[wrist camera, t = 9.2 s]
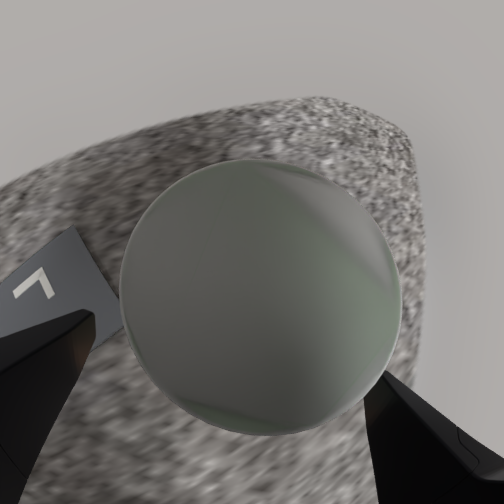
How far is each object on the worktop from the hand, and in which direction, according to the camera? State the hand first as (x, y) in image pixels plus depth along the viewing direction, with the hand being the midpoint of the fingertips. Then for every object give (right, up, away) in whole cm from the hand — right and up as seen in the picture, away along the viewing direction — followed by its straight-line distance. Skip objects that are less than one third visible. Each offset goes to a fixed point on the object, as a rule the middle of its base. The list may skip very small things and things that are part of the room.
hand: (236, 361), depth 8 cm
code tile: (-13, -1, +7) cm, 15 cm away
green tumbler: (-1, -2, +8) cm, 8 cm away
